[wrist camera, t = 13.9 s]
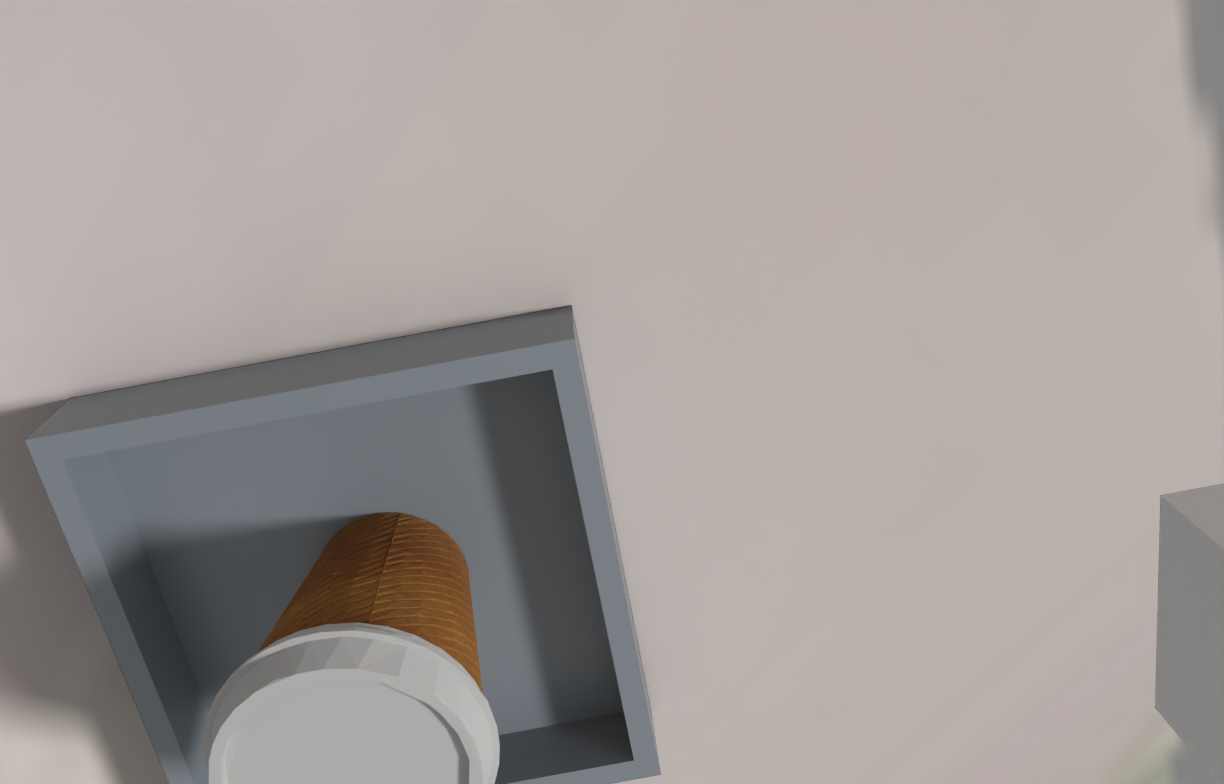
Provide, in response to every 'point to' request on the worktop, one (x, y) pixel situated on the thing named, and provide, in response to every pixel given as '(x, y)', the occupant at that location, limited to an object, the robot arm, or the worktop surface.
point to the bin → (349, 490)
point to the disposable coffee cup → (364, 672)
